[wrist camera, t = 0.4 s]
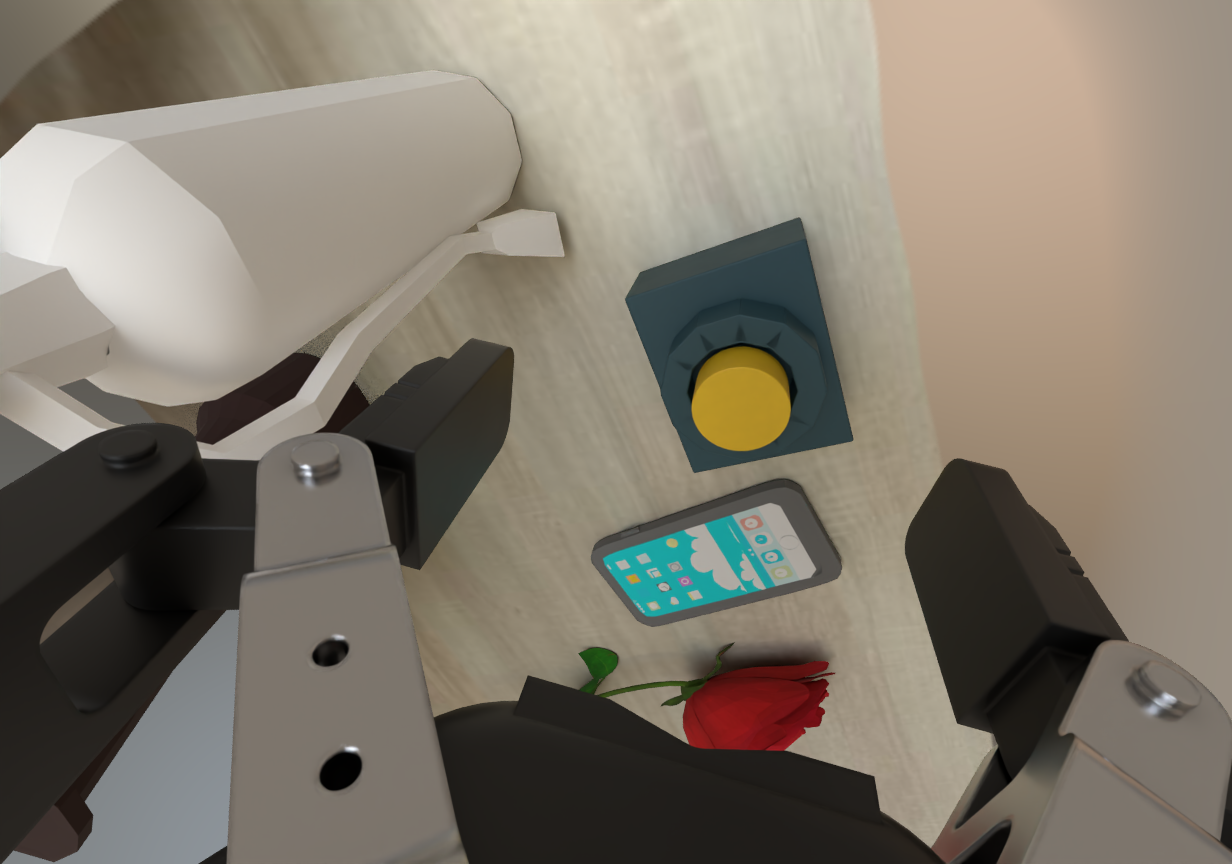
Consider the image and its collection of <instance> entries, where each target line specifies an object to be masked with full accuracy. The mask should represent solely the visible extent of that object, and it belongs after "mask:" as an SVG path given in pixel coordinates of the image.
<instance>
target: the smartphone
mask: <svg viewBox="0 0 1232 864" xmlns="http://www.w3.org/2000/svg"><path fill="white" fill-rule="evenodd" d="M591 561H592V564H593V565H594V566H595V567H596V569H597V570H598V571H599V573H600V574H601V575H602V576H603V578H604V579H605V580H606V581H607V583H608V584H609V585H610V587H611V588H612V589H613V590H614V592H615V593H616V594H617V595H618V597H619V598H620V599H621V601H622V602H623V603H624V604H625V606H626V607H627V608H628V609H629V611H630V612H631V613H632V615H633V616H634V617H635V618H636V620H637V621H639V622H641V623H643V624H645V625H648V626H651V627H655V626H661V625H665V624H669V623H673V622H677V621H681V620H685V619H689V618H693V617H697V616H701V615H705V614H709V613H713V612H717V611H721V610H725V609H729V608H733V607H737V606H741V605H745V604H749V603H753V602H757V601H761V600H765V599H769V598H773V597H777V596H781V595H785V594H789V593H793V592H797V591H800V590H804V589H807V588H811V587H815V586H818V585H821V584H824V583H828V582H830V581H832V580H835V579H837V578H838V577H839V575H840V574H841V570H842V565H841V559H840V557H839V555H838V553H837V551H836V550H835V548H834V546H833V544H832V543H831V541H830V539H829V537H828V535H827V534H826V532H825V530H824V528H823V526H822V525H821V523H820V521H819V519H818V517H817V516H816V514H815V512H814V510H813V508H812V507H811V505H810V503H809V501H808V500H807V498H806V496H805V494H804V492H803V491H802V489H801V487H800V486H799V485H797V484H795V483H794V482H792V481H789V480H786V479H782V480H775V481H771V482H767V483H764V484H761V485H758V486H755V487H752V488H749V489H746V490H743V491H740V492H737V493H734V494H732V495H729V496H726V497H723V498H720V499H717V500H714V501H711V502H708V503H705V504H702V505H700V506H697V507H694V508H691V509H688V510H685V511H682V512H679V513H676V514H673V515H671V516H668V517H665V518H662V519H659V520H656V521H653V522H650V523H647V524H644V525H641V526H639V527H636V528H633V529H630V530H627V531H624V532H621V533H618V534H615V535H612V536H609V537H607V538H605V539H602V540H600V541H599V542H597V543H596V544H595V546H594V548H593V551H592V555H591Z"/></svg>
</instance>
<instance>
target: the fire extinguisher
mask: <svg viewBox="0 0 1232 864" xmlns="http://www.w3.org/2000/svg"><path fill="white" fill-rule="evenodd" d="M521 163H522V158H521V154H520V150H519V146H518V142H517V138H516V134H515V130H514V126H513V122H512V118H511V114H510V113H509V112H508V110H507V109H506V108H505V107H504V106H503V105H502V104H501V103H500V102H499V101H498V100H497V99H496V98H495V97H494V96H493V95H492V94H491V93H490V92H489V91H488V90H487V88H486V87H485V86H484V85H483V84H482V83H481V82H480V81H479V80H478V79H477V78H476V77H471V76H465V75H459V74H454V73H448V72H442V71H436V70H429V71H422V72H415V73H407V74H400V75H393V76H385V77H378V78H371V79H363V80H356V81H349V82H341V83H334V84H327V85H320V86H312V87H305V88H298V89H290V90H283V91H276V92H268V93H261V94H254V95H246V96H239V97H232V98H224V99H217V100H210V101H203V102H195V103H188V104H181V105H173V106H166V107H159V108H151V109H144V110H137V111H129V112H122V113H115V114H108V115H100V116H93V117H86V118H78V119H71V120H64V121H56V122H49V123H42V124H37V125H36V126H35V127H34V128H33V129H31V130H30V131H29V132H28V133H27V134H26V135H25V136H24V137H23V138H22V139H21V140H20V141H19V142H18V143H17V144H15V145H14V146H13V147H12V148H11V149H10V150H9V151H8V152H7V153H6V154H5V155H4V156H3V157H2V158H1V159H0V414H1V415H3V416H5V417H7V418H8V419H10V420H12V421H13V422H15V423H16V424H18V425H20V426H21V427H23V428H25V429H26V430H28V431H30V432H32V433H33V434H35V435H36V436H38V437H40V438H41V439H43V440H45V441H47V442H48V443H50V444H52V445H53V446H55V447H56V448H58V449H60V450H61V451H63V452H64V451H65V450H67V449H69V448H70V447H72V446H74V445H75V444H77V443H79V442H80V441H82V440H84V439H86V438H88V437H90V436H93V435H95V434H97V433H100V432H103V431H106V430H109V429H113V428H117V427H121V426H126V425H121V424H116V423H112V422H110V421H109V420H107V419H106V418H104V417H102V416H101V415H99V414H98V413H96V412H95V411H93V410H91V409H90V408H88V407H87V406H85V405H83V404H82V403H80V402H79V401H77V400H76V399H74V398H72V397H71V396H69V395H68V394H66V393H64V392H63V391H61V390H60V389H58V388H57V387H59V386H62V385H65V384H68V383H71V382H74V381H77V380H80V379H83V378H86V379H87V380H88V381H90V382H91V383H93V384H94V385H96V386H97V387H99V388H100V389H102V390H103V391H104V392H108V393H112V394H116V395H121V396H125V397H129V398H133V399H138V400H142V401H146V402H150V403H154V404H159V405H163V406H167V407H168V406H176V405H183V404H190V403H197V402H205V401H212V400H217V399H219V398H221V397H222V396H224V395H226V394H228V393H230V392H232V391H233V390H235V389H237V388H239V387H241V386H243V385H244V384H246V383H248V382H250V381H252V380H253V379H255V378H257V377H259V376H261V375H263V374H264V373H265V372H267V371H268V370H270V369H271V368H273V367H274V366H275V365H277V364H278V363H280V362H281V361H282V360H284V359H285V358H287V357H288V356H290V355H291V354H292V353H294V352H295V351H297V350H298V349H299V348H301V347H302V346H304V345H305V344H306V343H308V342H309V341H311V340H312V339H314V338H315V337H316V336H318V335H319V334H321V333H322V332H323V331H325V330H326V329H328V328H329V327H331V326H332V325H333V324H335V323H336V322H338V321H339V320H340V319H342V318H343V317H345V316H346V315H348V314H349V313H350V312H352V311H353V310H355V309H356V308H357V307H359V306H360V305H362V304H363V303H365V302H366V301H367V300H369V299H370V298H372V297H373V296H374V295H376V294H377V293H379V292H380V291H381V290H383V289H384V288H386V287H387V286H389V285H390V284H391V283H393V282H394V281H396V280H397V279H398V278H400V277H401V276H403V275H404V274H405V275H404V276H403V277H402V278H401V279H400V280H398V281H397V282H396V283H395V284H394V285H393V286H392V287H390V288H389V289H388V290H387V291H386V292H385V293H384V294H382V295H381V296H380V297H379V298H378V299H377V300H376V301H374V302H373V303H372V304H371V305H370V306H369V307H368V308H367V309H365V310H364V311H363V312H362V313H361V314H360V315H359V316H357V317H356V318H355V319H354V320H353V321H352V322H351V323H349V324H348V325H347V326H346V327H345V328H344V329H343V330H341V331H340V332H339V333H338V334H337V336H336V337H335V339H334V340H333V342H332V343H331V345H330V346H329V348H328V349H327V351H326V352H325V354H324V355H323V357H322V358H321V360H320V361H319V363H318V364H317V366H316V367H315V368H314V370H313V371H312V373H311V374H310V376H309V377H308V379H307V380H306V382H305V383H304V385H303V386H302V388H301V389H300V391H299V392H298V394H297V395H296V397H295V398H293V399H291V400H290V401H288V402H286V403H285V404H283V405H281V406H279V407H278V408H276V409H274V410H273V411H271V412H269V413H267V414H266V415H264V416H262V417H260V418H259V419H257V420H255V421H254V422H252V423H250V424H248V425H247V426H245V427H243V428H241V429H240V430H238V431H236V432H235V433H233V434H231V435H229V436H228V437H226V438H224V439H222V440H221V441H219V442H217V443H216V444H214V445H210V444H206V443H202V442H197V444H198V448H199V451H200V454H201V458H206V459H233V460H261V458H262V457H263V456H264V454H265V453H266V452H268V451H269V450H270V449H271V448H273V447H274V446H276V445H277V444H279V443H281V442H284V441H286V440H288V439H291V438H294V437H297V436H301V435H306V434H312V433H314V432H316V431H318V430H319V429H321V428H323V427H324V426H325V425H326V424H327V422H328V420H329V419H330V417H331V416H332V414H333V413H334V411H335V409H336V408H337V406H338V405H339V403H340V401H341V400H342V398H343V397H344V395H345V393H346V392H347V390H348V389H349V387H350V385H351V384H352V382H353V381H354V379H355V377H356V376H357V374H358V373H359V371H360V369H361V368H362V366H363V365H364V363H365V361H366V360H367V358H368V357H369V355H370V354H371V352H372V350H373V349H374V348H375V347H376V346H377V345H378V344H379V343H380V342H381V341H382V340H383V339H384V338H385V337H386V336H387V335H388V334H389V333H390V332H391V331H392V330H393V329H394V328H395V327H396V326H397V325H398V324H399V323H400V322H401V321H402V320H403V319H404V318H405V317H406V315H407V314H408V313H409V312H410V311H411V310H412V309H413V308H414V307H415V306H416V305H417V304H418V303H419V302H420V301H421V300H422V299H423V298H424V297H425V296H426V295H427V294H428V293H429V292H430V291H431V290H432V289H433V288H434V287H435V286H436V285H437V284H438V283H439V282H440V281H441V280H442V279H443V278H444V277H445V276H446V275H447V274H448V273H449V272H450V271H451V270H452V268H453V267H454V266H455V265H456V264H457V263H458V262H459V261H460V260H461V259H462V258H463V257H464V256H465V255H466V254H471V253H477V252H482V253H487V254H498V255H508V256H544V257H565V255H564V250H563V245H562V241H561V236H560V231H559V227H558V222H557V217H556V213H555V212H546V211H537V210H527V209H519V210H516V211H513V212H510V213H506V214H503V215H500V216H497V217H493V218H490V219H487V220H484V221H481V220H482V219H483V218H485V217H486V216H488V215H489V214H490V213H492V212H493V211H495V210H496V209H498V208H499V207H500V206H502V205H503V204H505V203H506V202H507V201H509V199H510V196H511V193H512V190H513V187H514V184H515V181H516V178H517V175H518V172H519V169H520V166H521ZM479 221H480V222H479ZM476 223H477V227H478V232H473V233H466V234H462V233H464V232H465V231H466V230H468V229H469V228H471V227H472V226H473V225H475V224H476ZM408 271H409V272H408Z"/></svg>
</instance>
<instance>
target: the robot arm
mask: <svg viewBox="0 0 1232 864" xmlns="http://www.w3.org/2000/svg"><path fill="white" fill-rule="evenodd" d="M513 368H514V353H513V350H512V348H511V347H507V346H503V345H499V344H495V343H491V342H486V341H482V340H478V339H474V338H472V339H470V340H469V341H468V342H466V343H465V344H464V345H463V346H462V347H461V348H460V349H459V350H458V351H457V352H456V353H455V354H454V355H453V356H452V357H451V358H450V359H446V358H442V357H437V358H434V359H432V360H429V361H427V362H424V363H421V364H419V365H416V366H414V367H413V368H412V369H411V370H410V371H408V372H407V373H406V374H405V375H404V376H403V377H402V378H400V379H399V380H398V384H397V383H395V384H394V385H392V386H391V387H390V388H389V389H388V390H387V391H385V395H381V396H380V397H379V398H377V399H376V400H375V401H374V402H373V403H372V404H371V405H369V406H368V407H367V408H366V409H365V410H364V411H363V412H361V413H360V414H359V415H358V416H357V417H356V418H355V419H353V420H352V421H351V422H350V423H349V424H348V425H347V426H345V427H344V428H343V429H342V430H341V431H340V432H339V433H312V434H306V435H301V436H297V437H294V438H291V439H288V440H286V441H284V442H281V443H279V444H277V445H276V446H274V447H273V448H271V449H270V450H269V451H268V452H266V453H265V454H264V456H263V457H262V458H261V460H233V459H206V458H201V454H200V451H199V448H198V444H197V441H196V438H195V437H194V435H193V434H192V433H191V432H189V431H188V430H186V429H184V428H182V427H179V426H175V425H171V424H164V423H141V424H132V425H126V426H121V427H117V428H113V429H109V430H106V431H103V432H100V433H97V434H95V435H93V436H90V437H88V438H86V439H84V440H82V441H80V442H79V443H77V444H75V445H74V446H72V447H70V448H69V449H67V450H65V451H64V452H62V453H60V454H59V455H57V456H55V457H54V458H52V459H50V460H49V461H47V462H45V463H44V464H42V465H41V466H39V467H37V468H35V469H34V470H32V471H30V472H29V473H28V474H25V475H24V476H22V477H21V478H19V479H17V480H15V481H14V482H12V483H10V484H9V485H7V486H6V487H4V488H2V489H1V490H0V864H2V863H3V861H4V860H5V859H6V858H7V857H8V856H9V855H10V854H11V853H12V851H13V850H14V849H15V848H16V847H17V846H18V845H19V843H20V842H21V841H22V840H23V839H24V838H25V837H26V836H27V834H28V833H29V832H30V831H31V830H32V829H33V828H34V827H35V825H36V824H37V823H38V822H39V821H40V820H41V819H42V818H43V816H44V815H45V814H46V813H47V812H48V811H49V810H50V809H51V807H52V806H53V805H54V804H55V803H56V802H57V801H58V800H59V798H60V797H61V796H62V795H63V794H64V793H65V792H66V790H67V789H68V788H69V787H70V786H71V785H72V784H73V783H74V781H75V780H76V779H77V778H78V777H79V776H80V775H81V774H82V772H83V771H84V770H85V769H86V768H87V767H88V766H89V765H90V763H91V762H92V761H93V760H94V759H95V758H96V757H97V756H98V754H99V753H100V752H101V751H102V750H103V749H104V748H105V747H106V745H107V744H108V743H109V742H110V741H111V740H112V739H113V737H114V736H115V735H116V734H117V733H118V732H119V731H120V730H121V728H122V727H123V726H124V725H125V724H126V723H127V722H128V721H129V719H130V718H131V717H132V716H133V715H134V714H135V713H136V712H137V710H138V709H139V708H140V707H141V706H142V705H143V704H144V703H145V701H146V700H147V699H148V698H149V697H150V696H151V695H152V694H153V692H154V691H155V690H156V689H157V688H158V687H159V686H160V684H161V683H162V682H163V681H164V680H165V679H166V678H167V677H168V675H169V674H170V673H171V672H172V671H173V670H174V669H175V668H176V666H177V665H178V664H179V663H180V662H181V661H182V660H183V658H184V657H185V656H186V655H187V654H188V653H189V652H190V651H191V649H192V648H193V647H194V646H195V645H196V644H197V643H198V642H199V640H200V639H201V638H202V637H203V636H204V635H205V634H206V633H207V631H208V630H209V629H210V628H211V627H212V626H213V625H214V624H215V622H216V621H217V620H218V619H219V618H220V617H221V615H223V613H224V612H225V611H226V610H239V627H238V647H237V666H236V687H235V707H234V726H233V745H232V746H233V747H232V766H231V785H230V787H231V788H230V805H229V806H230V807H229V826H228V845H227V846H226V847H224V848H223V849H221V850H220V851H218V852H216V853H215V854H213V855H212V856H210V857H208V858H207V859H205V860H204V861H202V862H200V863H199V864H1232V720H1231V719H1230V717H1229V715H1228V713H1227V711H1226V710H1225V709H1224V707H1223V706H1222V704H1221V703H1220V702H1219V701H1218V700H1217V698H1216V697H1215V696H1214V695H1213V694H1212V693H1211V692H1210V691H1209V690H1208V689H1207V688H1206V687H1205V686H1204V685H1203V684H1202V683H1201V682H1199V681H1198V680H1197V679H1196V678H1195V677H1194V676H1192V675H1191V674H1190V673H1189V672H1187V671H1186V670H1184V669H1183V668H1181V667H1180V666H1179V665H1177V664H1176V663H1174V662H1173V661H1171V660H1169V659H1168V658H1166V657H1164V656H1162V655H1161V654H1159V653H1157V652H1154V651H1153V650H1151V649H1148V648H1146V647H1143V646H1141V645H1138V644H1135V643H1131V642H1129V641H1128V639H1127V637H1126V636H1125V634H1124V633H1123V631H1122V630H1121V628H1120V626H1119V625H1118V623H1117V622H1116V620H1115V619H1114V617H1113V616H1112V614H1111V613H1110V611H1109V610H1108V608H1107V607H1106V605H1105V603H1104V602H1103V600H1102V599H1101V598H1100V596H1099V595H1098V593H1097V591H1096V590H1095V588H1094V587H1093V585H1092V584H1091V582H1090V581H1089V579H1088V578H1087V577H1083V574H1084V571H1083V570H1082V568H1081V567H1080V565H1079V564H1078V562H1077V561H1076V559H1075V557H1071V556H1070V554H1071V551H1070V550H1069V548H1068V547H1067V545H1066V544H1065V542H1064V541H1063V539H1062V538H1061V536H1060V534H1059V533H1058V532H1057V530H1056V528H1054V527H1053V526H1052V525H1051V524H1050V523H1049V522H1048V521H1047V520H1046V519H1045V518H1044V517H1042V516H1041V515H1040V514H1039V513H1038V512H1037V511H1036V510H1035V509H1034V508H1033V507H1031V506H1030V505H1028V504H1027V502H1026V500H1025V499H1024V497H1023V496H1022V494H1021V493H1020V491H1019V489H1018V488H1017V486H1016V484H1015V483H1014V481H1013V480H1012V478H1011V477H1010V475H1009V473H1008V472H1007V471H1005V470H1003V469H1000V468H996V467H992V466H988V465H984V464H980V463H976V462H972V461H967V460H964V459H954V460H953V461H951V462H950V463H949V464H948V465H947V466H946V467H945V468H944V470H943V471H942V473H941V475H940V476H939V478H938V480H937V481H936V483H935V484H934V486H933V488H932V489H931V491H930V493H929V494H928V496H927V497H926V499H925V501H924V502H923V504H922V506H921V507H920V509H919V511H918V512H917V514H916V515H915V517H914V519H913V520H912V522H911V524H910V526H909V529H908V532H907V535H906V541H905V555H906V559H907V562H908V566H909V569H910V572H911V575H912V579H913V582H914V585H915V588H916V592H917V595H918V598H919V601H920V605H921V608H922V611H923V614H924V618H925V621H926V624H927V627H928V631H929V634H930V637H931V640H932V644H933V647H934V650H935V653H936V657H937V660H938V663H939V666H940V670H941V673H942V676H943V679H944V683H945V686H946V689H947V692H948V696H949V699H950V702H951V705H952V709H953V712H954V715H955V718H956V722H957V724H961V725H964V726H968V727H971V728H975V729H979V730H982V731H986V732H989V733H993V734H994V736H995V739H996V742H997V745H996V746H995V747H994V748H993V749H992V750H991V751H990V752H989V753H988V754H987V755H986V756H985V757H984V759H983V760H982V762H981V764H980V766H979V767H978V769H977V771H976V772H975V774H974V776H973V778H972V779H971V781H970V783H969V785H968V786H967V788H966V790H965V792H964V793H963V795H962V797H961V799H960V800H959V802H958V804H957V806H956V807H955V809H954V811H953V812H952V814H951V816H950V818H949V819H948V821H947V823H946V825H945V826H944V828H943V830H942V832H941V833H940V835H939V837H938V838H937V840H936V842H935V843H934V845H933V846H932V847H931V848H930V847H929V846H927V845H926V844H925V843H924V842H923V841H921V840H920V839H919V838H918V837H917V836H915V835H914V834H913V833H912V832H911V831H909V830H908V829H907V828H905V827H904V826H902V825H901V824H900V823H898V822H897V821H895V820H894V819H892V818H891V817H890V816H888V815H886V814H885V813H883V812H881V811H880V808H879V802H878V796H877V790H876V784H875V778H874V776H871V775H867V774H864V773H861V772H857V771H854V770H850V769H847V768H843V767H840V766H837V765H833V764H830V763H826V762H823V761H819V760H816V759H813V758H809V757H806V756H802V755H799V754H796V753H792V752H789V751H777V750H739V749H704V748H697V747H694V746H691V745H689V744H687V743H685V742H683V741H681V740H680V739H678V738H676V737H674V736H673V735H671V734H669V733H667V732H666V731H664V730H662V729H660V728H659V727H657V726H655V725H654V724H652V723H650V722H648V721H647V720H645V719H643V718H641V717H640V716H638V715H636V714H635V713H633V712H631V711H629V710H628V709H626V708H624V707H622V706H621V705H619V704H617V703H616V702H614V701H612V700H610V699H607V698H604V697H601V696H597V695H594V694H590V693H587V692H583V691H580V690H577V689H573V688H570V687H566V686H563V685H559V684H556V683H553V682H549V681H546V680H542V679H539V678H535V677H532V676H529V675H528V677H527V679H526V682H525V685H524V687H523V690H522V693H521V695H520V698H519V701H498V702H488V703H480V704H476V705H471V706H467V707H462V708H459V709H456V710H453V711H450V712H447V713H444V714H441V715H438V716H436V717H433V713H432V708H431V704H430V699H429V694H428V690H427V685H426V681H425V676H424V671H423V667H422V662H421V658H420V653H419V648H418V644H417V639H416V635H415V630H414V625H413V621H412V616H411V612H410V607H409V603H408V598H407V593H406V589H405V584H404V580H403V575H402V570H401V566H400V565H404V566H407V567H411V568H414V569H418V570H420V569H421V568H422V566H423V565H424V563H425V562H426V560H427V559H428V557H429V556H430V554H431V553H432V551H433V550H434V548H435V547H436V545H437V544H438V542H439V541H440V539H441V538H442V536H443V535H444V533H445V532H446V530H447V529H448V527H449V526H450V524H451V523H452V521H453V520H454V518H455V517H456V515H457V514H458V512H459V511H460V509H461V508H462V506H463V505H464V503H465V502H466V500H467V499H468V497H469V496H470V494H471V493H472V491H473V490H474V488H475V487H476V485H477V484H478V482H479V481H480V479H481V478H482V476H483V475H484V473H485V472H486V470H487V469H488V467H489V466H490V464H491V463H492V461H493V460H494V458H495V457H496V456H497V454H498V453H499V451H500V449H501V448H502V446H503V443H504V441H505V438H506V435H507V432H508V427H509V422H510V411H511V397H512V383H513ZM107 568H109V570H110V572H111V574H112V576H113V578H114V581H113V582H112V583H110V584H109V585H108V586H107V587H106V588H105V589H103V590H102V591H101V592H100V593H99V594H98V595H97V596H95V597H94V598H93V599H92V600H91V601H90V602H88V603H87V604H86V605H85V606H84V607H83V608H82V609H80V610H79V611H78V612H77V613H76V614H75V615H73V616H72V617H71V618H70V619H69V620H68V621H67V622H65V623H64V624H63V625H62V626H61V627H60V628H58V629H57V630H56V631H55V632H54V633H53V634H52V635H50V636H49V637H48V638H47V639H46V640H45V641H43V642H42V643H41V644H40V639H41V635H42V633H43V630H44V628H45V626H46V625H47V623H48V621H49V620H50V618H51V617H52V616H53V615H54V614H55V612H56V611H57V610H58V609H59V608H60V607H62V606H63V605H64V604H65V603H66V602H67V601H69V600H70V599H71V598H72V597H73V596H75V595H76V594H77V593H78V592H79V591H81V590H82V589H83V588H84V587H85V586H86V585H88V584H89V583H90V582H91V581H92V580H94V579H95V578H96V577H97V576H98V575H100V574H101V573H102V572H103V571H104V570H106V569H107Z"/></svg>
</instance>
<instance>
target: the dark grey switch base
mask: <svg viewBox="0 0 1232 864" xmlns="http://www.w3.org/2000/svg"><path fill="white" fill-rule="evenodd" d="M625 301H626V303H627V306H628V308H629V311H630V313H631V316H632V318H633V321H634V323H635V326H636V328H637V331H638V334H639V336H640V339H641V341H642V344H643V346H644V349H645V351H646V354H647V356H648V359H649V361H650V364H651V366H652V369H653V371H654V374H655V376H656V379H657V381H658V384H659V387H660V389H661V396H662V399H663V401H664V404H665V406H666V409H667V411H668V414H669V416H670V419H671V421H672V424H673V426H674V427H675V428H676V429H677V432H678V434H679V437H680V439H681V442H682V445H683V447H684V450H685V452H686V455H687V457H688V460H689V462H690V465H691V467H692V470H693V472H694V473H697V472H702V471H707V470H712V469H717V468H722V467H726V466H731V465H736V464H741V463H746V462H751V461H756V460H761V459H766V458H771V457H776V456H781V455H786V454H791V453H796V452H801V451H806V450H811V449H816V448H821V447H826V446H831V445H836V444H841V443H846V442H851V441H853V435H852V431H851V427H850V422H849V418H848V414H847V410H846V405H845V401H844V397H843V393H842V388H841V384H840V380H839V376H838V371H837V367H836V363H835V359H834V354H833V350H832V346H831V342H830V337H829V333H828V329H827V325H826V320H825V316H824V312H823V308H822V303H821V299H820V295H819V291H818V286H817V282H816V278H815V274H814V269H813V265H812V261H811V257H810V252H809V248H808V244H807V240H806V236H805V232H804V229H803V225H802V221H801V219H800V218H796V219H793V220H790V221H787V222H784V223H782V224H779V225H776V226H773V227H770V228H767V229H764V230H761V231H758V232H756V233H753V234H750V235H747V236H744V237H741V238H738V239H735V240H732V241H730V242H727V243H724V244H721V245H718V246H715V247H712V248H709V249H706V250H704V251H701V252H698V253H695V254H692V255H689V256H686V257H683V258H680V259H678V260H675V261H672V262H669V263H666V264H663V265H660V266H657V267H654V268H652V269H649V270H646V271H643V272H640V273H639V275H638V277H637V279H636V281H635V282H634V284H633V286H632V288H631V289H630V291H629V293H628V295H627V296H626V298H625ZM733 347H752V348H756V349H760V350H762V351H765V352H766V353H768V354H770V355H771V356H773V357H774V358H775V359H776V360H777V361H778V362H779V363H780V364H781V365H782V367H783V368H784V370H785V372H786V375H787V377H788V382H789V393H790V403H791V413H790V418H789V422H788V424H787V426H786V428H785V429H784V431H783V432H782V433H781V434H780V436H779V437H777V438H776V439H775V440H774V441H772V442H771V443H770V444H768V445H766V446H764V447H761V448H758V449H754V450H749V451H734V450H728V449H725V448H722V447H719V446H717V445H715V444H713V443H712V442H710V441H709V440H707V439H706V438H705V437H704V436H703V435H702V434H701V433H700V431H699V430H698V428H697V427H696V425H695V423H694V420H693V417H692V400H693V395H694V390H695V385H696V380H697V376H698V373H699V371H700V369H701V368H702V366H703V365H704V364H705V362H706V361H707V360H708V359H710V358H711V357H712V356H713V355H715V354H717V353H718V352H720V351H723V350H726V349H728V348H733Z"/></svg>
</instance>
